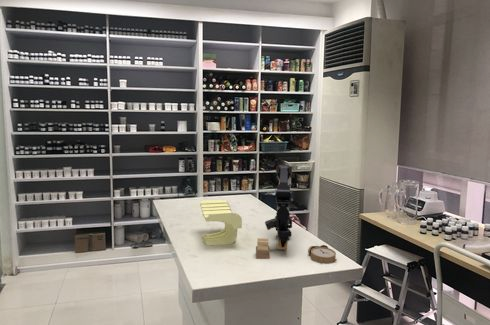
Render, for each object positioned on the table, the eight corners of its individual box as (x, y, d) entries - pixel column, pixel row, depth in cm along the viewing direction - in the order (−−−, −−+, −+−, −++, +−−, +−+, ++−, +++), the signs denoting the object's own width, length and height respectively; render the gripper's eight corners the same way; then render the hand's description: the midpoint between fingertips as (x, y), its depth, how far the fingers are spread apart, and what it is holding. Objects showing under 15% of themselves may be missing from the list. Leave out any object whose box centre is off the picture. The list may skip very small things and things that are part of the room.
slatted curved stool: (241, 248, 189) (241, 213, 187) (209, 251, 185) (209, 214, 183) (228, 230, 218) (228, 199, 216) (200, 232, 214) (200, 200, 212)
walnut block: (255, 254, 182) (256, 246, 182) (268, 254, 182) (268, 246, 182) (256, 259, 176) (256, 250, 176) (269, 259, 176) (269, 250, 176)
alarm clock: (317, 258, 169) (304, 242, 183) (316, 268, 171) (303, 251, 185) (340, 256, 172) (326, 240, 186) (339, 266, 174) (324, 249, 187)
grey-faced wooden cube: (277, 246, 190) (277, 236, 189) (286, 246, 190) (286, 236, 190) (278, 249, 186) (278, 239, 185) (287, 249, 186) (287, 239, 185)
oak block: (257, 246, 181) (257, 238, 181) (268, 246, 181) (268, 238, 181) (257, 250, 176) (257, 241, 176) (268, 250, 176) (268, 241, 176)
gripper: (264, 209, 195) (264, 239, 197) (267, 219, 176) (266, 252, 178) (287, 209, 195) (286, 239, 197) (291, 219, 177) (291, 252, 179)
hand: (282, 245), depth 188 cm, fingers closed on grey-faced wooden cube, 4 cm apart
